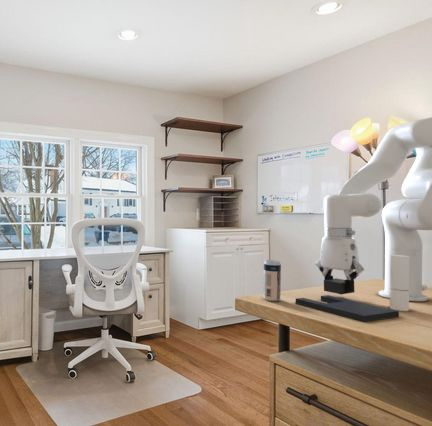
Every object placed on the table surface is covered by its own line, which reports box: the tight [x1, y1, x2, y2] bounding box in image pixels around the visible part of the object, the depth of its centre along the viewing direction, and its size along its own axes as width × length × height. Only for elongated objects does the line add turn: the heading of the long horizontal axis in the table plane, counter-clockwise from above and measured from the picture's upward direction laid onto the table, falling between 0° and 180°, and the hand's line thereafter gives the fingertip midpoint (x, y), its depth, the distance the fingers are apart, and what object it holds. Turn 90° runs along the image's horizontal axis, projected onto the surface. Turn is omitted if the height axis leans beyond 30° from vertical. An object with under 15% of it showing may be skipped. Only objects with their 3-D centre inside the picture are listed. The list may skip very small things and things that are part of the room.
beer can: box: [262, 259, 282, 302], centre depth 115 cm, size 5×5×12 cm
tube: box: [389, 255, 410, 312], centre depth 106 cm, size 4×4×15 cm
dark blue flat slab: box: [295, 294, 400, 323], centre depth 105 cm, size 14×20×2 cm
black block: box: [323, 278, 355, 295], centre depth 120 cm, size 6×6×4 cm
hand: (338, 289), depth 120 cm, fingers closed on black block, 6 cm apart
